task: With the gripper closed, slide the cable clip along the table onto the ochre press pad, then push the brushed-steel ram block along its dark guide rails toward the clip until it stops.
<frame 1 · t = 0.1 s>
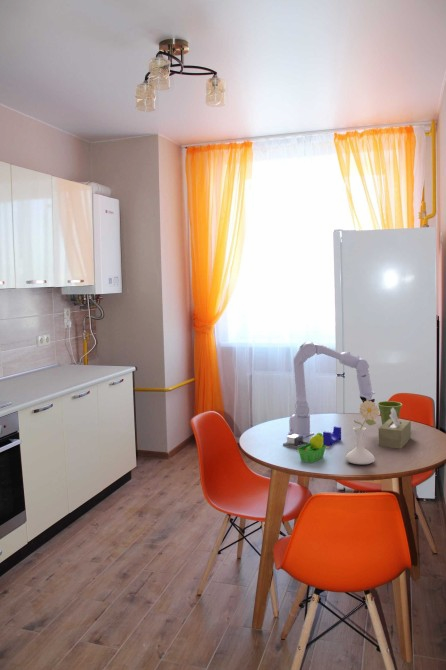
hand: (369, 412, 256), 10 cm above the table, tool pointing down, fingers open, 7 cm apart
flower in vase: (362, 462, 217), on the table
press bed: (313, 449, 236), on the table
fruit basket: (313, 459, 223), on the table
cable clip: (330, 442, 245), on the table, touching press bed
plant pot: (389, 426, 270), on the table
tissue box: (394, 442, 244), on the table
ram: (295, 440, 243), point 2 cm above the table, slide at 0.0 cm
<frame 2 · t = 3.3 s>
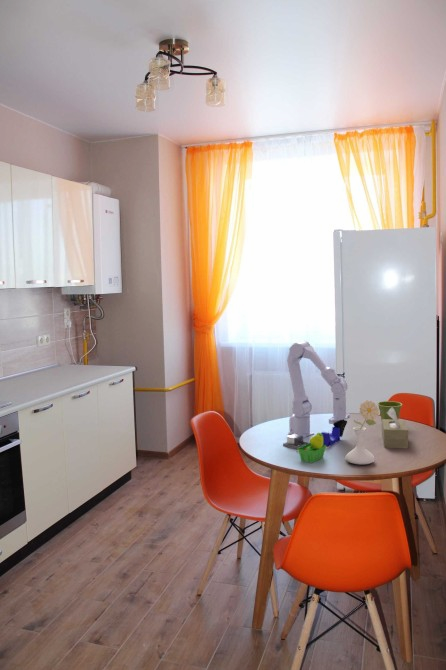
hand: (339, 436, 250), 1 cm above the table, tool pointing down, fingers closed
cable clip: (329, 443, 245), on the table, touching gripper
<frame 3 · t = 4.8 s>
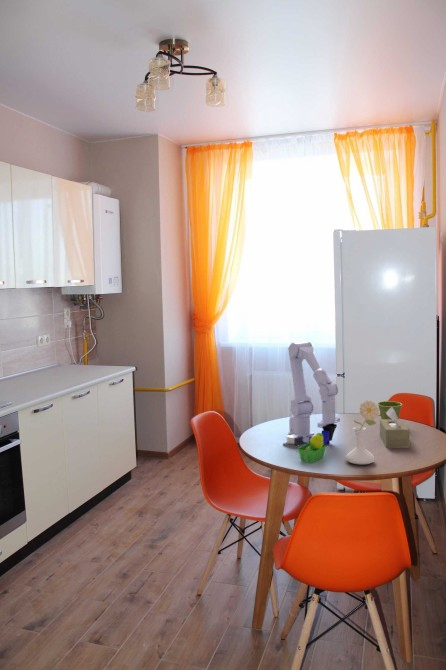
hand: (329, 440, 244), 1 cm above the table, tool pointing down, fingers closed
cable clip: (318, 447, 239), resting on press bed, touching gripper
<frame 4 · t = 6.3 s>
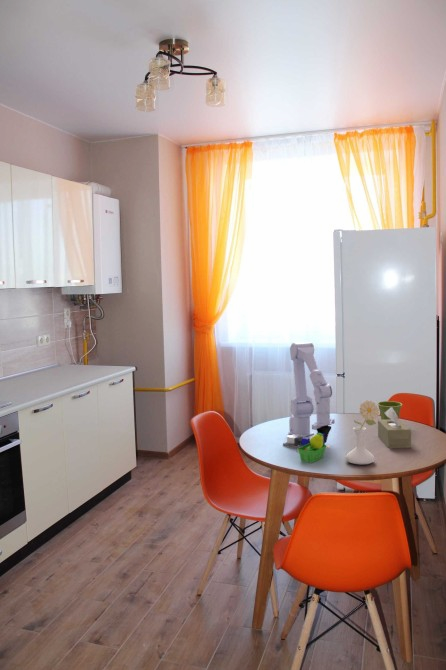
hand: (323, 442, 241), 1 cm above the table, tool pointing down, fingers closed
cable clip: (312, 449, 236), resting on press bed, touching gripper
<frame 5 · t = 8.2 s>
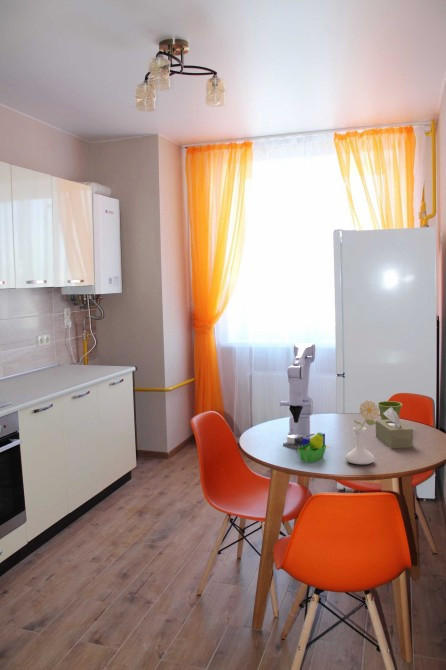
hand: (296, 422, 246), 9 cm above the table, tool pointing down, fingers closed
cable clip: (312, 449, 236), resting on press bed
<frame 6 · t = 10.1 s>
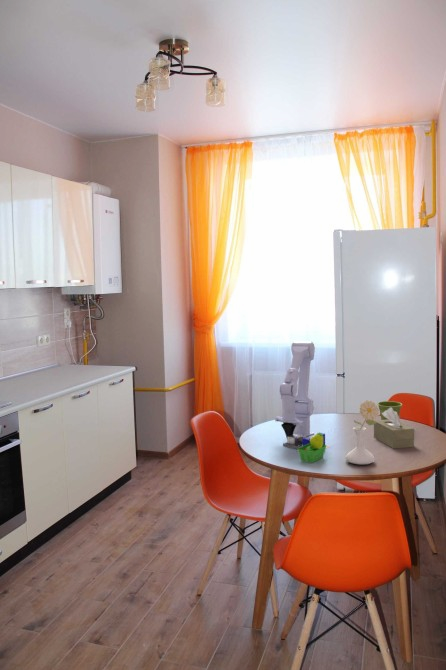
hand: (289, 439, 245), 2 cm above the table, tool pointing down, fingers closed
ram: (295, 440, 243), point 2 cm above the table, slide at 0.1 cm, touching gripper
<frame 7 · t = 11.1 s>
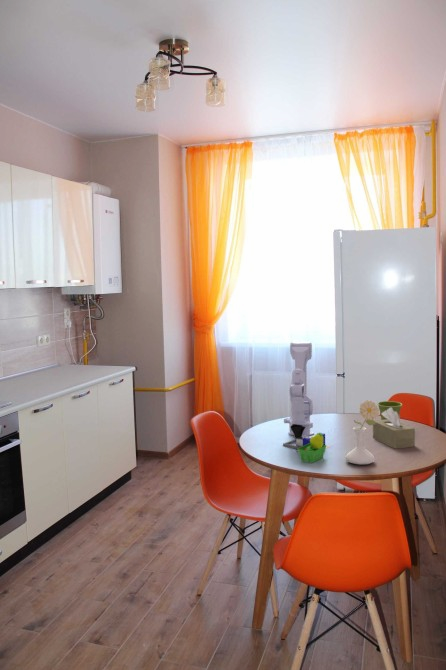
hand: (298, 441, 242), 2 cm above the table, tool pointing down, fingers closed
ram: (304, 442, 239), point 2 cm above the table, slide at 5.0 cm, touching gripper
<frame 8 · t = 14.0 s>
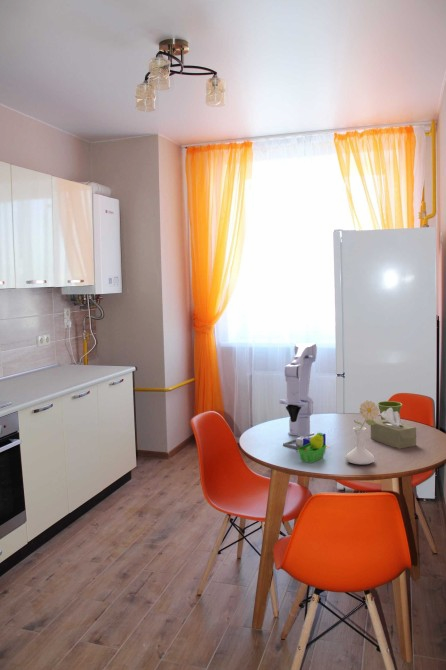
hand: (293, 421, 245), 10 cm above the table, tool pointing down, fingers closed
ram: (304, 442, 239), point 2 cm above the table, slide at 5.0 cm
at the end: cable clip inside the target area (0.5 cm from its centre), resting on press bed; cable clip tilted 0°; ram slide at 5.0 cm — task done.
